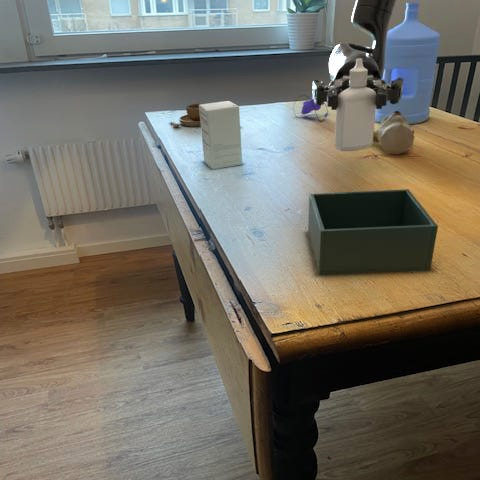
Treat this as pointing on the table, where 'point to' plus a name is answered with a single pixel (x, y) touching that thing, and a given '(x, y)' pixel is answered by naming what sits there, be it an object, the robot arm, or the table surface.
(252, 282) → the table surface
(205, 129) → the white packaging box
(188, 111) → the place setting
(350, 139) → the eye dropper bottle
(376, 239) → the storage bin
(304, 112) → the game controller
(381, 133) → the ceramic sculpture
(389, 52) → the water jug
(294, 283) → the table surface
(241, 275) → the table surface
